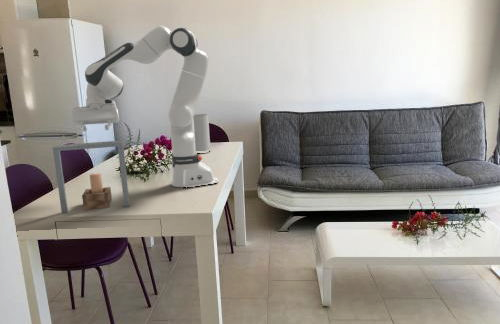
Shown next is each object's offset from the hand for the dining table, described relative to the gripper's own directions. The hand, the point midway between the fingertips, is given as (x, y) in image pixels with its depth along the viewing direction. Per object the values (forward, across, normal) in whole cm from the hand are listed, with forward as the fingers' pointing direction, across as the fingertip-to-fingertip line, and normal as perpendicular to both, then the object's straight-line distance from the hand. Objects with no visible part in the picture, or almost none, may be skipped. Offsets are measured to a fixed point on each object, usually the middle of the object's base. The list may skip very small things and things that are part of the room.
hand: (95, 130), depth 192 cm
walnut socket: (+33, 0, +8) cm, 34 cm away
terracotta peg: (+32, 0, +8) cm, 33 cm away
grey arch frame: (+36, 0, +5) cm, 36 cm away
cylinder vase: (-40, +53, +82) cm, 106 cm away
